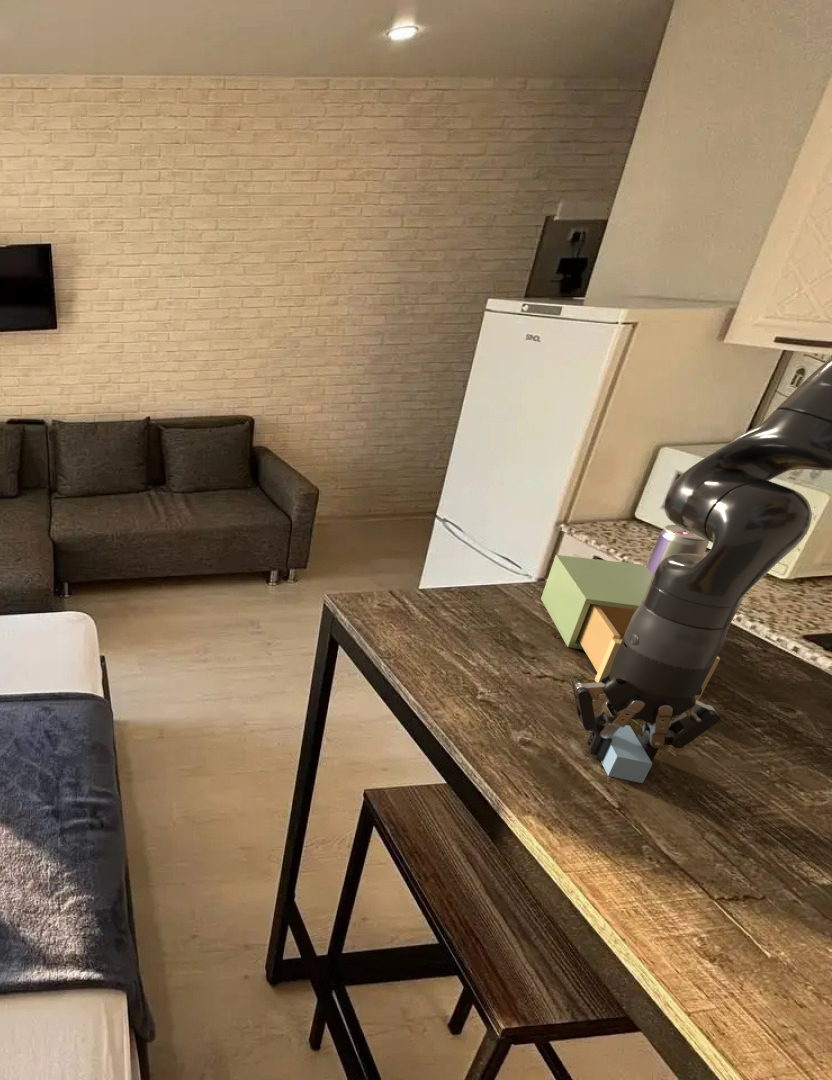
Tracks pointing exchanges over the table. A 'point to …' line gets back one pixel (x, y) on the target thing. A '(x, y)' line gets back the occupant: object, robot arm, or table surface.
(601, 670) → the drawer
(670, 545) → the beverage can
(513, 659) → the table surface
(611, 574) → the cabinet
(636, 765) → the light blue rectangular block
